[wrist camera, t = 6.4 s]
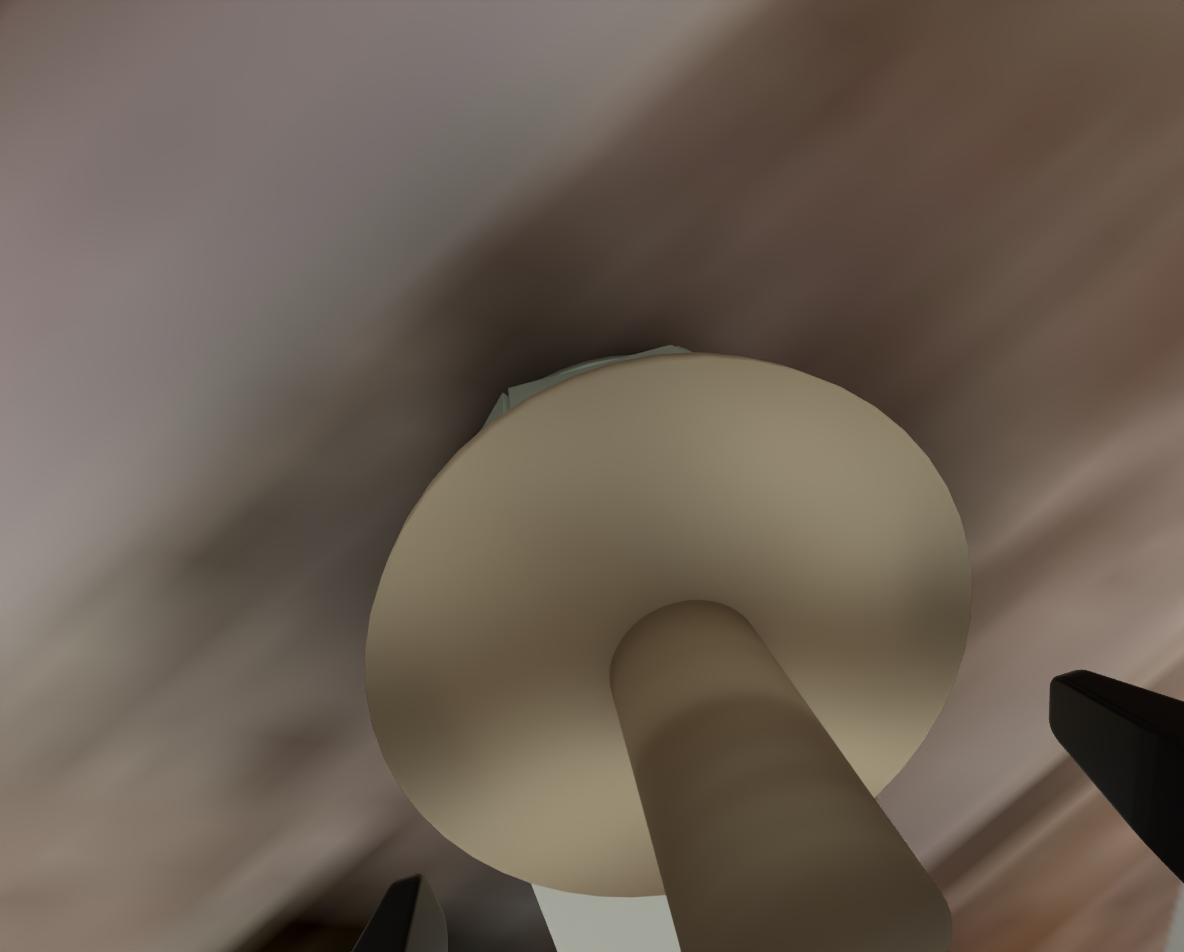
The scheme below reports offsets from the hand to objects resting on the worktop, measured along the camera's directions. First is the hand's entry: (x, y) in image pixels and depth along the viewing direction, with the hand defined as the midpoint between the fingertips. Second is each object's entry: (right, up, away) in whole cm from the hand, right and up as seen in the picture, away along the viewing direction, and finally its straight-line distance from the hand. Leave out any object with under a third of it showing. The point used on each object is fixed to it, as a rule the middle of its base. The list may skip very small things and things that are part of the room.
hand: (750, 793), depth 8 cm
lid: (-1, +1, +3) cm, 4 cm away
